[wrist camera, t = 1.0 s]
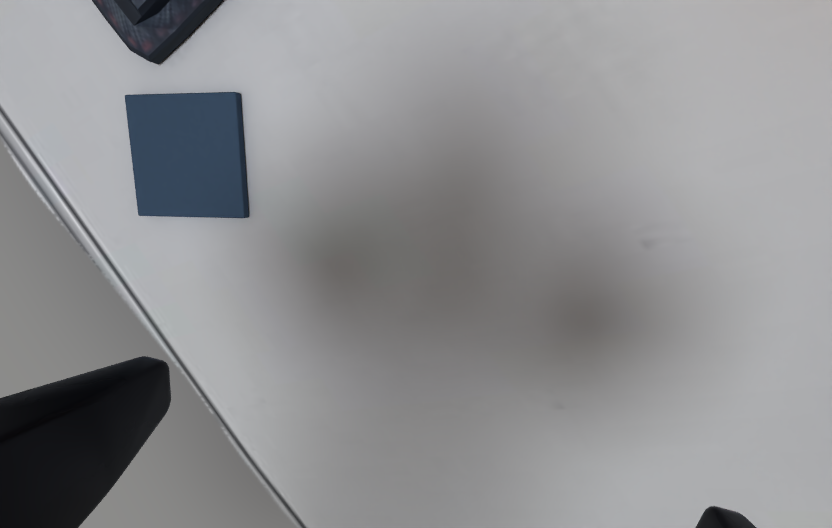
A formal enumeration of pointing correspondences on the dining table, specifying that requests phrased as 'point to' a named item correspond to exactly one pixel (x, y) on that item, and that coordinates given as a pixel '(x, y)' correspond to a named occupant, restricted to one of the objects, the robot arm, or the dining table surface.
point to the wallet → (154, 23)
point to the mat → (188, 154)
